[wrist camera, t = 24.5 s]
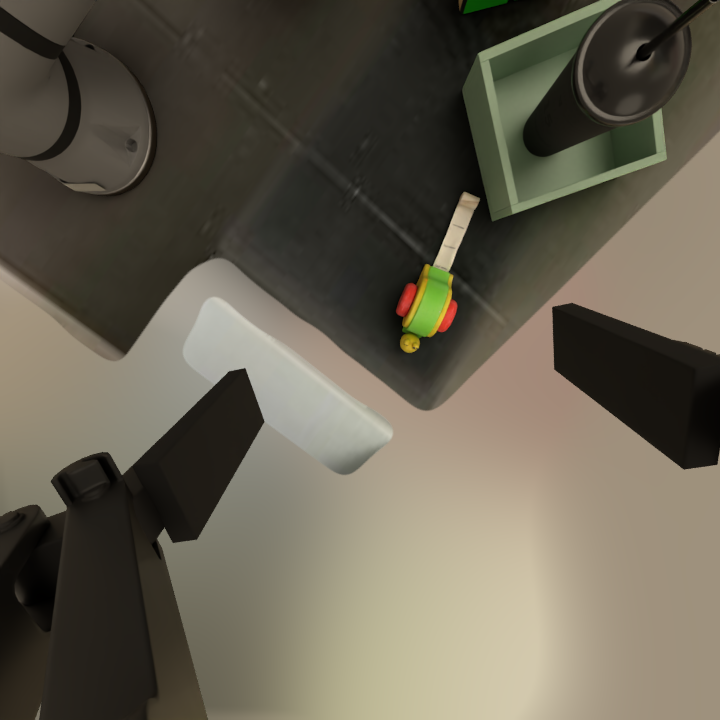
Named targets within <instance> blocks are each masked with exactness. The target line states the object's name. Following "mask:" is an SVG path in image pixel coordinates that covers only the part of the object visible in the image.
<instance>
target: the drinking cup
mask: <svg viewBox="0 0 720 720" xmlns="http://www.w3.org/2000/svg"><path fill="white" fill-rule="evenodd" d="M718 1H719V0H699V1H697V2H696V3H695V4H694V5H693V6H691V7H690V8H689V9H688V10H687V11H685V12H684V13H683V12H682V11H681V10H680V9H679V7H678V6H677V5H675V4H674V3H673V2H672V1H670V0H621V1H619V2H617V3H615V4H614V5H612V6H610V7H609V8H608V9H606V10H605V11H604V12H603V13H602V14H601V15H600V16H599V17H598V18H597V19H596V20H595V21H594V22H593V23H592V25H591V26H590V27H589V28H588V30H587V31H586V33H585V34H584V36H583V38H582V39H581V41H580V43H579V45H578V48H577V50H576V53H575V54H574V55H573V57H572V58H571V60H570V61H569V62H568V64H567V65H566V67H565V68H564V69H563V71H562V72H561V74H560V75H559V76H558V78H557V79H556V80H555V82H554V83H553V85H552V86H551V87H550V89H549V90H548V92H547V93H546V94H545V96H544V97H543V99H542V100H541V101H540V103H539V104H538V106H537V107H536V108H535V110H534V111H533V112H532V114H531V115H530V117H529V118H528V120H527V121H526V123H525V126H524V130H523V141H524V145H525V147H526V148H527V150H528V151H529V152H530V153H531V154H533V155H535V156H538V157H547V156H551V155H553V154H555V153H558V152H560V151H563V150H565V149H567V148H570V147H572V146H574V145H577V144H579V143H582V142H584V141H586V140H589V139H591V138H593V137H596V136H598V135H600V134H603V133H605V132H608V131H610V130H612V129H615V128H617V127H624V126H629V125H632V124H635V123H638V122H640V121H642V120H644V119H646V118H648V117H650V116H651V115H653V114H654V113H656V112H657V111H658V110H660V109H661V108H662V107H663V106H664V105H665V104H666V103H667V102H668V101H669V100H670V99H671V97H672V96H673V95H674V94H675V92H676V91H677V89H678V88H679V86H680V84H681V82H682V80H683V78H684V76H685V74H686V71H687V69H688V65H689V62H690V57H691V49H692V40H691V32H690V28H689V24H690V23H691V22H692V21H694V20H695V19H696V18H697V17H699V16H700V15H701V14H703V13H704V12H705V11H706V10H708V9H709V8H710V7H711V6H713V5H714V4H715V3H717V2H718Z"/></svg>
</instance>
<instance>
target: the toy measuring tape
mask: <svg viewBox="0 0 720 720" xmlns="http://www.w3.org/2000/svg"><path fill="white" fill-rule="evenodd" d="M479 201H480V198H478V197H476V196H474V195H471V194H469V193H467V192H463V193H462V195H461V197H460V199H459V203H458V205H457V207H456V210H455V212H454V215H453V217H452V220H451V222H450V226H449V228H448V231H447V233H446V236H445V238H444V240H443V243H442V245H441V248H440V251H439V253H438V256H437V257H436V260H435V262H434V264H433V266H430V265H428V264H425V266H424V268H423V270H422V273H421V275H420V277H419V280H418V282H417V284H416V285H415V284H413V283H408V284H407V285H406V286H405V288H404V291H403V293H402V295H401V297H400V300H399V302H398V305H397V308H396V313H397V314H398V315H400V316H402V317H404V318H403V322H402V325H403V326H404V327H403V330H402V331H403V332H405V333H406V334H404V335H403V336H402V338H401V340H400V346H401V348H402V349H403V350H404V351H405V352H408V353H411V352H414V351H416V350H417V349H418V348H419V344H420V340H419V338H421V337H422V336H424V337H426V336H428V337H431V336H433V335H434V334H435V333H436V331H439V332H444V331H446V330H447V329H448V328H449V326H450V325H451V323H452V321H453V319H454V317H455V314H456V311H457V303H456V301H455V300H452V299H451V297H452V289H451V285H452V280H453V275H451V274H450V273H448V272H449V270H450V268H451V265H452V263H453V260H454V258H455V255H456V252H457V249H458V248H459V245H460V243H461V242H462V239H463V236H464V234H465V232H466V229H467V227H468V224H469V222H470V219H471V217H472V215H473V212H474V210H475V209H476V207H477V205H478V203H479Z"/></svg>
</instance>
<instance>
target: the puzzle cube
mask: <svg viewBox="0 0 720 720" xmlns="http://www.w3.org/2000/svg"><path fill="white" fill-rule="evenodd" d="M508 1H509V0H459V11H460V12H461V13H462V14H466V13H470V12H474V11H478V10H482V9H486V8H490V7H493V6H497V5H501V4H505V3H507V2H508ZM512 1H516V0H512Z"/></svg>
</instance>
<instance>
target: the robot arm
mask: <svg viewBox="0 0 720 720" xmlns="http://www.w3.org/2000/svg"><path fill="white" fill-rule="evenodd" d="M95 2H96V0H0V153H3V154H7V155H11V156H14V157H18V158H21V159H25V160H26V161H28V162H29V163H31V164H33V165H34V166H36V167H38V168H40V169H42V170H44V171H46V172H47V173H48V174H49V175H51V176H52V177H53V178H55V179H56V180H58V181H59V182H61V183H63V184H64V185H66V186H67V187H69V188H71V189H73V190H74V191H82V192H85V193H90V194H94V195H100V196H113V195H118V194H122V193H124V192H127V191H129V190H131V189H132V188H133V187H135V186H136V185H137V184H138V183H140V181H141V180H142V179H143V178H144V177H145V175H146V174H147V172H148V170H149V169H150V167H151V164H152V162H153V159H154V155H155V151H156V143H157V129H156V121H155V116H154V112H153V109H152V106H151V103H150V100H149V98H148V96H147V94H146V92H145V90H144V88H143V87H142V85H141V83H140V82H139V80H138V79H137V78H136V77H135V75H134V74H133V73H132V72H131V71H130V70H129V69H128V68H127V67H126V66H125V65H124V64H123V63H122V62H120V61H119V60H118V59H116V58H115V57H114V56H112V55H111V54H110V53H108V52H107V51H105V50H103V49H102V48H100V47H98V46H96V45H94V44H92V43H90V42H87V41H85V40H82V39H78V38H74V33H75V31H76V30H77V28H78V27H79V25H80V24H81V23H82V21H83V20H84V18H85V17H86V15H87V14H88V12H89V11H90V9H91V8H92V6H93V5H94V3H95ZM552 313H553V342H554V369H555V370H556V371H557V372H558V373H560V374H561V375H562V376H564V377H565V378H566V379H567V380H569V381H570V382H571V383H573V384H574V385H575V386H577V387H578V388H579V389H580V390H582V391H583V392H584V393H586V394H587V395H588V396H590V397H591V398H592V399H593V400H595V401H596V402H597V403H599V404H600V405H601V406H602V407H604V408H605V409H606V410H608V411H609V412H610V413H612V414H613V415H614V416H615V417H617V418H618V419H619V420H620V421H622V422H623V423H625V424H626V425H627V426H628V427H630V428H631V429H632V430H633V431H635V432H636V433H637V434H639V435H640V436H641V437H642V438H644V439H645V440H646V441H648V442H649V443H650V444H652V445H653V446H654V447H655V448H657V449H658V450H659V451H661V452H662V453H663V454H665V455H666V456H667V457H668V458H670V459H671V460H672V461H673V462H675V463H676V464H678V465H679V466H680V467H681V468H683V469H691V468H698V467H705V466H711V465H717V464H718V456H719V451H720V354H719V355H716V353H714V352H712V351H709V350H703V349H702V348H700V347H698V346H695V345H692V344H689V343H687V342H681V341H676V340H671V339H669V338H666V337H663V336H660V335H658V334H655V333H652V332H649V331H647V330H644V329H641V328H638V327H636V326H633V325H630V324H628V323H625V322H622V321H620V320H617V319H614V318H612V317H608V316H606V315H603V314H600V313H598V312H595V311H593V310H589V309H587V308H584V307H582V306H579V305H576V304H573V303H570V304H565V305H561V306H555V307H553V308H552ZM263 423H264V419H263V416H262V413H261V411H260V408H259V405H258V402H257V399H256V397H255V394H254V391H253V388H252V385H251V383H250V380H249V377H248V374H247V372H246V369H245V368H244V369H239V370H234V371H229V372H228V373H227V374H226V375H225V376H224V377H223V378H222V379H221V380H220V381H219V382H218V383H217V384H216V385H215V386H214V387H213V388H212V389H211V390H210V391H209V392H208V393H207V394H206V395H205V396H204V397H202V399H200V400H199V401H198V402H197V403H196V404H195V405H194V406H193V407H192V408H191V409H190V410H189V411H188V412H187V413H186V414H185V415H184V416H183V417H182V418H181V419H180V420H179V421H178V422H177V423H176V424H175V425H174V426H173V427H172V428H171V429H170V430H169V431H168V432H167V433H166V434H165V435H164V436H163V437H161V439H159V440H158V441H157V442H156V443H155V444H154V445H153V446H152V447H151V448H150V449H149V450H148V451H147V452H146V453H145V454H144V455H143V456H142V457H141V458H140V459H139V460H138V461H137V462H136V463H135V464H134V465H133V466H131V467H130V468H129V470H127V471H126V472H125V473H124V474H123V475H121V473H120V471H119V470H118V468H117V466H116V464H115V462H114V461H113V459H112V457H111V455H110V454H109V453H108V452H102V453H97V454H93V455H90V456H87V457H85V458H82V459H80V460H78V461H76V462H74V463H72V464H70V465H69V466H67V467H66V468H64V469H63V470H61V471H60V472H59V473H57V474H56V475H55V476H54V477H53V479H52V480H51V483H52V484H53V486H54V487H55V489H56V490H57V492H58V494H59V495H60V497H61V498H62V500H63V501H64V503H65V504H66V506H67V510H66V511H64V512H61V513H59V514H56V515H53V516H50V517H46V515H45V514H44V512H43V511H42V510H41V508H40V507H39V506H38V505H29V506H26V507H22V508H20V509H17V510H15V511H13V512H12V511H10V512H8V513H6V514H4V515H3V516H0V720H35V717H36V715H37V712H38V710H39V707H40V704H41V711H40V718H39V720H208V718H207V714H206V710H205V706H204V703H203V699H202V695H201V691H200V688H199V684H198V680H197V677H196V673H195V669H194V665H193V662H192V658H191V654H190V651H189V647H188V643H187V640H186V636H185V632H184V628H183V624H182V621H181V617H180V613H179V610H178V606H177V602H176V598H175V595H174V591H173V587H172V584H171V580H170V576H169V572H168V569H167V565H166V561H165V557H164V554H163V550H162V547H161V545H160V544H159V542H158V540H157V537H158V536H159V534H160V533H161V532H162V530H163V529H164V527H165V529H166V531H167V533H168V535H169V536H170V538H171V540H172V542H173V543H175V542H182V541H190V540H197V538H198V537H199V535H200V533H201V531H202V530H203V528H204V526H205V524H206V523H207V521H208V519H209V518H210V516H211V514H212V512H213V511H214V509H215V507H216V505H217V504H218V502H219V500H220V498H221V496H222V495H223V493H224V491H225V490H226V488H227V486H228V484H229V483H230V481H231V479H232V477H233V476H234V474H235V472H236V470H237V468H238V467H239V465H240V463H241V462H242V460H243V458H244V457H245V455H246V453H247V451H248V449H249V448H250V446H251V444H252V442H253V440H254V439H255V437H256V436H257V434H258V432H259V430H260V429H261V427H262V425H263ZM41 702H42V703H41Z"/></svg>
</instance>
